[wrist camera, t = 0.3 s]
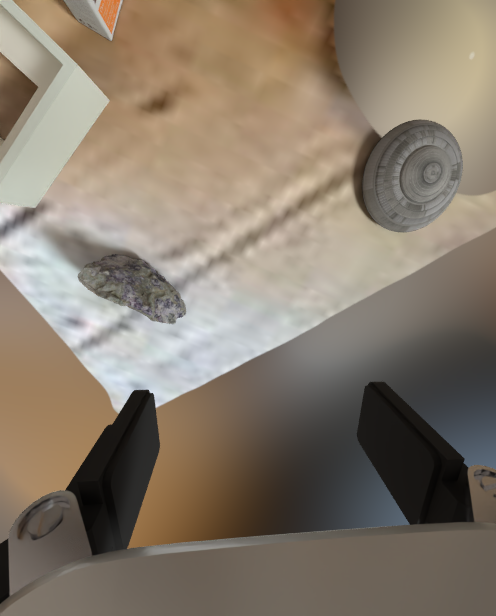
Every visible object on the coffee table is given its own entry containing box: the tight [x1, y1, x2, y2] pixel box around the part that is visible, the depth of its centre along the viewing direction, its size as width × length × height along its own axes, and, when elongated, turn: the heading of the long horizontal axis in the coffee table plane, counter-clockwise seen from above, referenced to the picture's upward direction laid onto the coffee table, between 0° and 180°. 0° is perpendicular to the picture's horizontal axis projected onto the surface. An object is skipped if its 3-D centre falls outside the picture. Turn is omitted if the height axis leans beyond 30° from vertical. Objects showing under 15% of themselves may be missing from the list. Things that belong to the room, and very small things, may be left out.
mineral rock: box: [78, 254, 186, 324], centre depth 34 cm, size 13×11×10 cm
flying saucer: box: [362, 120, 463, 232], centre depth 35 cm, size 15×15×6 cm
